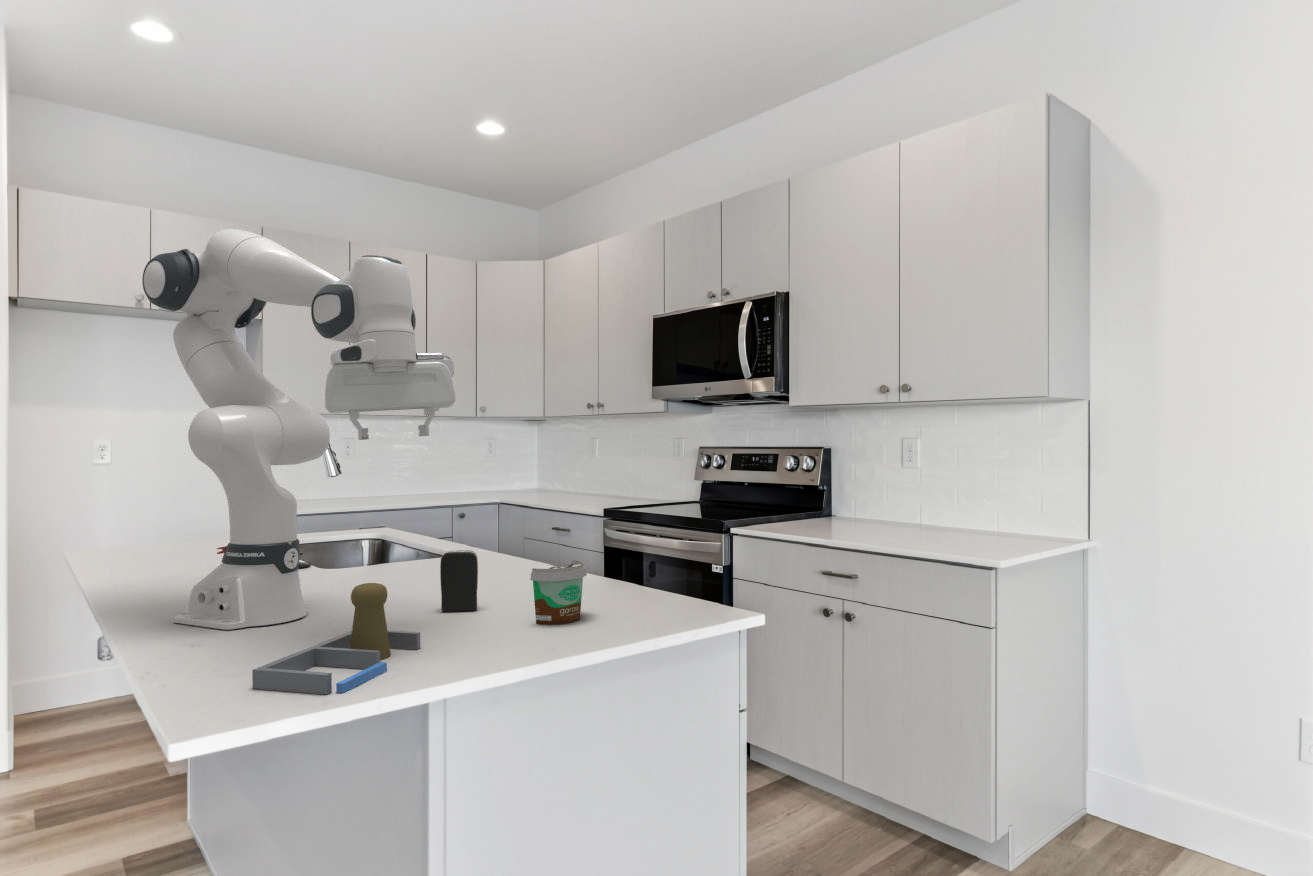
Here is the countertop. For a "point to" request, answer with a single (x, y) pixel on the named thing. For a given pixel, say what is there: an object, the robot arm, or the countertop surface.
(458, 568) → the battery charger
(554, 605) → the food container
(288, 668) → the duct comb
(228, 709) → the countertop surface
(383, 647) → the cork
